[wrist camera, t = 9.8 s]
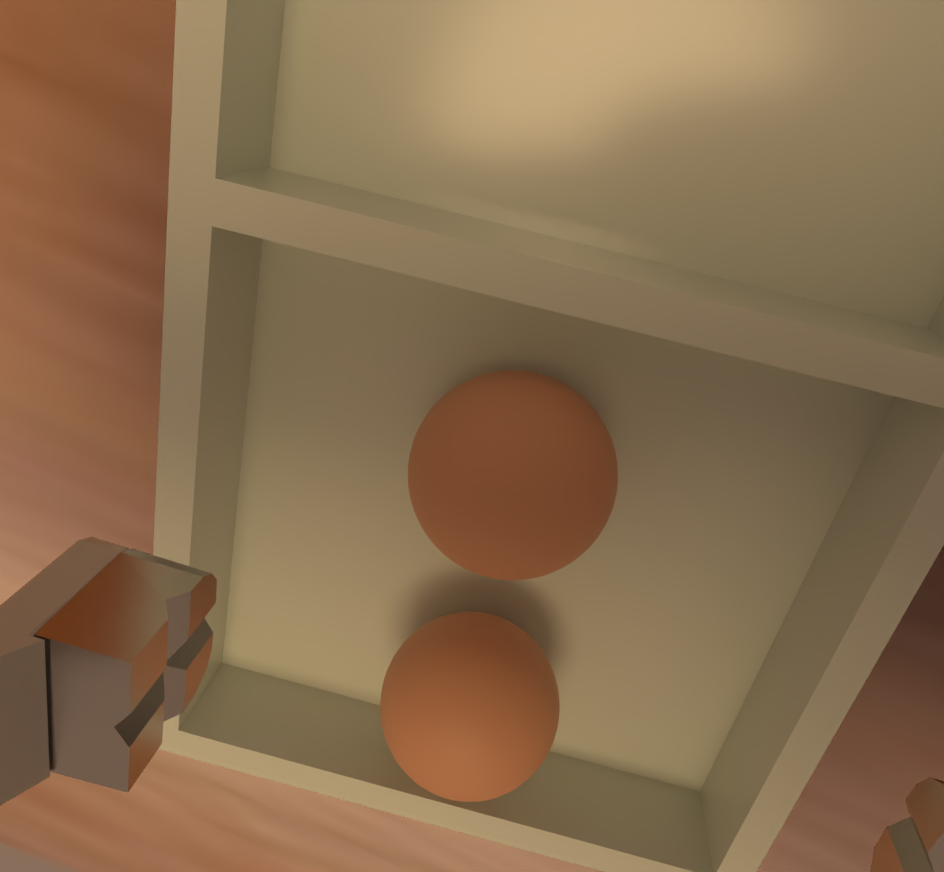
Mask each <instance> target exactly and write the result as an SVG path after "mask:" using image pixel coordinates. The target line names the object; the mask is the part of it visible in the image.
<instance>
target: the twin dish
mask: <svg viewBox="0 0 944 872" xmlns="http://www.w3.org/2000/svg"><path fill="white" fill-rule="evenodd" d="M503 370H523V371H531V372H535V373H539V374H543V375H546V376H549V377H551V378H554V379H556V380H559V381H561V382H562V383H564V384H566V385H568V386H569V387H571V388H572V389H574V390H575V391H576V392H578V393H579V394H580V395H581V396H583V397H584V398H585V399H586V400H587V401H588V402H589V403H590V404H591V406H592V407H593V408H594V409H595V410H596V412H597V413H598V414H599V416H600V417H601V419H602V421H603V422H604V424H605V426H606V428H607V430H608V432H609V434H610V436H611V439H612V442H613V445H614V448H615V452H616V458H617V465H618V485H617V494H616V498H615V502H614V506H613V509H612V512H611V514H610V517H609V519H608V521H607V524H606V525H605V527H604V528H603V530H602V532H601V533H600V535H599V536H598V538H597V539H596V540H595V542H594V543H593V544H592V545H591V546H590V547H589V549H587V550H586V551H585V552H584V553H583V554H582V555H580V556H579V557H578V558H577V559H576V560H575V561H573V562H572V563H570V564H568V565H567V566H565V567H563V568H561V569H559V570H557V571H554V572H552V573H550V574H548V575H544V576H541V577H537V578H532V579H525V580H501V579H494V578H490V577H485V576H482V575H479V574H476V573H474V572H471V571H469V570H467V569H465V568H463V567H461V566H459V565H458V564H456V563H455V562H453V561H452V560H450V559H449V558H448V557H446V556H445V555H444V554H443V553H442V552H441V551H440V550H439V549H438V548H437V547H436V546H435V545H434V544H433V543H432V542H431V540H430V539H429V538H428V536H427V535H426V533H425V532H424V530H423V529H422V527H421V525H420V523H419V521H418V519H417V517H416V514H415V512H414V509H413V506H412V503H411V499H410V495H409V488H408V462H409V455H410V451H411V448H412V444H413V441H414V437H415V435H416V433H417V431H418V428H419V426H420V425H421V423H422V422H423V420H424V418H425V417H426V415H427V413H428V412H429V411H430V409H431V408H432V407H433V406H434V405H435V404H436V402H438V401H439V400H440V399H441V398H442V397H443V396H444V395H445V394H447V393H448V392H449V391H450V390H451V389H453V388H455V387H456V386H458V385H459V384H461V383H463V382H465V381H467V380H469V379H471V378H474V377H476V376H479V375H482V374H486V373H489V372H496V371H503ZM943 545H944V0H176V21H175V45H174V68H173V92H172V116H171V140H170V164H169V188H168V212H167V236H166V260H165V284H164V308H163V331H162V355H161V379H160V403H159V427H158V451H157V475H156V499H155V523H154V547H153V555H155V556H158V557H161V558H164V559H168V560H171V561H174V562H177V563H181V564H184V565H187V566H190V567H193V568H197V569H200V570H203V571H206V572H210V573H212V574H213V575H214V577H215V578H216V579H217V589H216V603H215V604H214V606H213V607H212V608H211V610H210V611H209V612H208V614H207V615H206V616H205V620H206V621H207V623H208V625H209V626H210V628H211V630H212V631H213V641H212V650H211V654H210V658H209V662H208V666H207V669H206V672H205V674H204V676H203V678H202V681H201V683H200V685H199V687H198V690H197V692H196V694H195V695H194V697H193V698H192V700H191V701H190V703H189V704H188V706H187V707H186V709H185V710H184V712H183V713H181V714H179V715H177V716H175V717H173V718H171V719H168V720H166V721H164V722H163V737H162V744H161V746H160V747H159V748H158V749H159V750H163V751H167V752H170V753H174V754H178V755H181V756H185V757H188V758H192V759H196V760H199V761H203V762H207V763H210V764H214V765H218V766H221V767H225V768H228V769H232V770H236V771H239V772H243V773H247V774H250V775H254V776H257V777H261V778H265V779H268V780H272V781H276V782H279V783H283V784H287V785H290V786H294V787H297V788H301V789H305V790H308V791H312V792H316V793H319V794H323V795H327V796H330V797H334V798H337V799H341V800H345V801H348V802H352V803H356V804H359V805H363V806H367V807H370V808H374V809H377V810H381V811H385V812H388V813H392V814H396V815H399V816H403V817H407V818H410V819H414V820H417V821H421V822H425V823H428V824H432V825H436V826H439V827H443V828H446V829H450V830H454V831H457V832H461V833H465V834H468V835H472V836H476V837H479V838H483V839H486V840H490V841H494V842H497V843H501V844H505V845H508V846H512V847H516V848H519V849H523V850H526V851H530V852H534V853H537V854H541V855H545V856H548V857H552V858H556V859H559V860H563V861H566V862H570V863H574V864H577V865H581V866H585V867H588V868H592V869H596V870H599V871H603V872H756V871H757V869H758V868H759V866H760V864H761V862H762V861H763V859H764V857H765V856H766V854H767V852H768V850H769V849H770V847H771V845H772V843H773V842H774V840H775V838H776V836H777V835H778V833H779V831H780V829H781V828H782V826H783V824H784V822H785V821H786V819H787V817H788V815H789V814H790V812H791V810H792V808H793V807H794V805H795V803H796V802H797V800H798V798H799V796H800V795H801V793H802V791H803V789H804V788H805V786H806V784H807V782H808V781H809V779H810V777H811V775H812V774H813V772H814V770H815V768H816V767H817V765H818V763H819V761H820V760H821V758H822V756H823V754H824V753H825V751H826V749H827V747H828V746H829V744H830V742H831V741H832V739H833V737H834V735H835V734H836V732H837V730H838V728H839V727H840V725H841V723H842V721H843V720H844V718H845V716H846V714H847V713H848V711H849V709H850V707H851V706H852V704H853V702H854V700H855V699H856V697H857V695H858V693H859V692H860V690H861V688H862V687H863V685H864V683H865V681H866V680H867V678H868V676H869V674H870V673H871V671H872V669H873V667H874V666H875V664H876V662H877V660H878V659H879V657H880V655H881V653H882V652H883V650H884V648H885V646H886V645H887V643H888V641H889V639H890V638H891V636H892V634H893V633H894V631H895V629H896V627H897V626H898V624H899V622H900V620H901V619H902V617H903V615H904V613H905V612H906V610H907V608H908V606H909V605H910V603H911V601H912V599H913V598H914V596H915V594H916V592H917V591H918V589H919V587H920V585H921V584H922V582H923V580H924V578H925V577H926V575H927V573H928V572H929V570H930V568H931V566H932V565H933V563H934V561H935V559H936V558H937V556H938V554H939V552H940V551H941V549H942V547H943ZM465 611H475V612H484V613H489V614H493V615H496V616H499V617H502V618H504V619H506V620H508V621H510V622H512V623H514V624H515V625H517V626H518V627H520V628H521V629H522V630H524V631H525V632H526V633H528V634H529V635H530V636H531V637H532V638H533V639H534V640H535V642H536V643H537V644H538V645H539V647H540V648H541V649H542V650H543V652H544V654H545V655H546V657H547V659H548V661H549V663H550V665H551V667H552V669H553V672H554V674H555V678H556V682H557V686H558V690H559V702H560V712H559V722H558V728H557V732H556V735H555V738H554V741H553V744H552V746H551V749H550V751H549V753H548V754H547V756H546V758H545V760H544V761H543V763H542V764H541V766H540V767H539V768H538V769H537V770H536V772H535V773H534V774H533V775H532V776H531V777H530V778H529V779H528V780H527V781H525V782H524V783H523V784H521V785H520V786H519V787H518V788H516V789H514V790H513V791H511V792H509V793H507V794H504V795H502V796H500V797H497V798H494V799H490V800H486V801H478V802H461V801H454V800H450V799H446V798H443V797H440V796H438V795H435V794H433V793H431V792H429V791H427V790H426V789H424V788H422V787H421V786H419V785H418V784H417V783H415V782H414V781H413V780H412V779H411V778H410V777H409V776H408V775H407V774H406V773H405V772H404V771H403V770H402V769H401V767H400V766H399V764H398V763H397V762H396V760H395V758H394V756H393V755H392V753H391V751H390V749H389V747H388V744H387V742H386V739H385V736H384V733H383V728H382V723H381V715H380V700H381V691H382V685H383V681H384V678H385V675H386V671H387V669H388V667H389V665H390V663H391V661H392V659H393V657H394V655H395V654H396V652H397V651H398V649H399V648H400V647H401V645H402V644H403V643H404V641H405V640H406V639H407V638H409V637H410V636H411V635H412V634H413V633H414V632H415V631H416V630H417V629H419V628H420V627H422V626H423V625H425V624H427V623H428V622H430V621H432V620H434V619H436V618H439V617H441V616H444V615H448V614H452V613H457V612H465Z"/></svg>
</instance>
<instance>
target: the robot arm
mask: <svg viewBox="0 0 944 872" xmlns="http://www.w3.org/2000/svg"><path fill="white" fill-rule="evenodd" d="M216 589H217V579H216V578H215V577H214V575H213V574H212V573H210V572H206V571H203V570H200V569H197V568H193V567H190V566H187V565H184V564H181V563H177V562H174V561H171V560H168V559H164V558H161V557H158V556H155V555H152V554H148V553H145V552H142V551H139V550H135V549H129V548H126V547H123V546H120V545H117V544H113V543H110V542H107V541H104V540H100V539H97V538H94V537H89V538H85V539H81V540H79V541H77V542H76V543H75V544H73V545H72V546H71V547H70V548H69V549H67V550H66V551H65V552H64V553H63V554H61V555H60V556H59V557H58V558H57V559H55V560H54V561H53V562H52V563H51V564H49V565H48V566H47V567H46V568H45V569H43V570H42V571H41V572H40V573H39V574H37V575H36V576H35V577H34V578H33V579H31V580H30V581H29V582H28V583H27V584H26V585H24V586H23V587H22V588H21V589H20V590H18V591H17V592H16V593H15V594H14V595H12V596H11V597H10V598H9V599H8V600H6V601H5V602H4V603H3V604H2V605H0V805H2V804H4V803H5V802H7V801H9V800H11V799H12V798H14V797H16V796H17V795H19V794H21V793H23V792H24V791H26V790H28V789H29V788H31V787H33V786H35V785H36V784H38V783H40V782H41V781H43V780H45V779H46V778H48V777H49V776H50V772H54V773H58V774H61V775H65V776H69V777H72V778H76V779H80V780H84V781H87V782H91V783H95V784H98V785H102V786H106V787H109V788H113V789H117V790H121V791H124V792H129V790H130V789H131V787H132V786H133V785H134V783H135V782H136V780H137V779H138V777H139V776H140V774H141V773H142V772H143V770H144V769H145V767H146V766H147V764H148V763H149V761H150V760H151V759H152V757H153V756H154V754H155V753H156V751H157V750H158V748H159V747H160V746H161V744H162V737H163V722H164V721H166V720H168V719H171V718H173V717H175V716H177V715H179V714H181V713H183V712H184V710H185V709H186V707H187V706H188V704H189V703H190V701H191V700H192V698H193V697H194V695H195V694H196V692H197V690H198V687H199V685H200V683H201V681H202V678H203V676H204V674H205V672H206V669H207V666H208V662H209V658H210V654H211V650H212V641H213V631H212V630H211V628H210V626H209V625H208V623H207V621H206V620H205V616H206V615H207V614H208V612H209V611H210V610H211V608H212V607H213V606H214V604H215V603H216ZM906 804H907V807H908V811H909V814H910V818H908V819H905V820H903V821H900V822H898V823H896V824H893V825H891V826H888V827H887V828H886V830H885V831H884V833H883V834H882V836H881V838H880V839H879V841H878V843H877V844H876V846H875V848H874V854H873V860H872V866H871V872H944V781H941V780H938V779H934V778H928V779H926V780H924V781H922V782H920V783H918V784H917V785H916V786H915V787H914V789H913V790H912V792H911V793H910V794H909V796H908V797H907V799H906Z"/></svg>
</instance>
